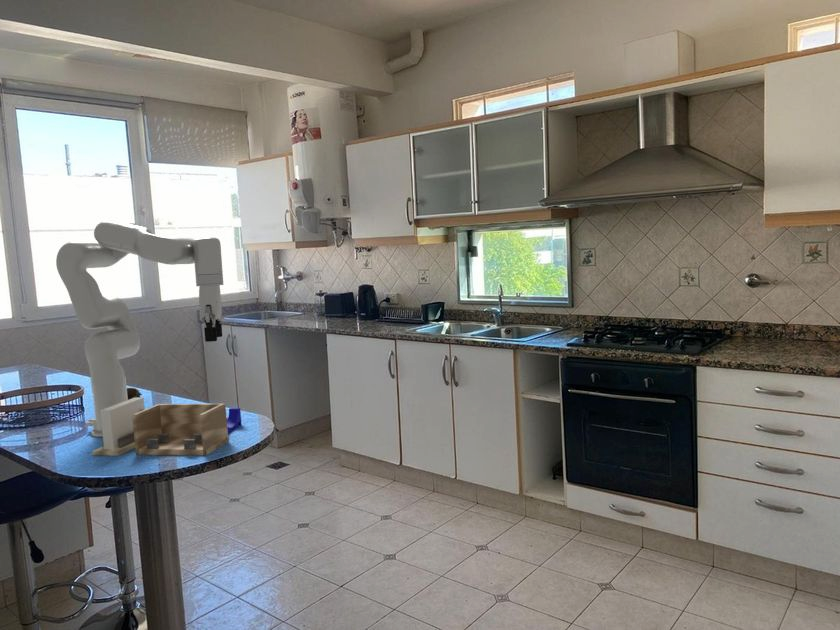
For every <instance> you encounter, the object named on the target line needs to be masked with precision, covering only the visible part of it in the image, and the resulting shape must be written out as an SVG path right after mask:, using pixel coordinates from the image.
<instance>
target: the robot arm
mask: <svg viewBox="0 0 840 630" xmlns="http://www.w3.org/2000/svg"><path fill="white" fill-rule="evenodd" d="M93 236H94V239H95V240H88V239H87V240H72V241H69V242H66V243H65V244H63V245H62V246H61V247H60V248H59V250H58V251H57V254H56V260H55V261H56V262H55V263H56V270H57V272H58V276H59V277H60V279H61V281H62V283H63V285H64V286H65V288H66V290H67V294H68V296H69V299H70V301H71V303H72V304H71V305H72V306H73V307H72V308H74V312H75V313H76V314H75V315H76V316H77V319H78V321H79V324H80V325H81V327H83V328H84V329H85V330H98V329H105V328H107V330H104V331H100V332H99V331H98V332H96V333H93V334H92V335H90V336H89V337H88V338H87V339H86V341H85V342H84V349H83V350H84V354H85V357H86V360H87V364H88V368H89V372H90V380H91V386H92V397H93V406H94V415H95V418H89V419H88V420H87V422H86V427H93V429H92V430H91V431H90V432H91V433H90V434H91V436H92V437H95V438H103V433H102V423H101V414H100V410H102V409H105V408H108V407H110V406H113V405H116V404H119V403H121V402H124V401H127V400H128V396H127V388H128V387H127V379H126V374H125V369H124V367H123V366H122V364H121V363H120V361H119V360H122V359H126V358H129V357H132V356H134V355H136V354H137V353H138V352H139V350H140V347H141V340H140V339H141V338H140V335H139V333H138V329H137V327H136V325H135V322H134V319H133V315H132V314H131V311H130V309H129V307H128V305H127V304H126V303H125V301H124V300H123V299H122V298H119V297H116V296H103V295H102V292H101V289H100V288H99V287H100V286H99V284H98V282H97V281H96V279H95V278H94V277H93V276H92V275H91V274H90V273H89V271H87V269H98V268H109V267H112V266H113V265H116V264H117V263H118V262H120V261H121V260H122V259H123V258H125V257H126V256H128V255H129V254H132V255H135V256H136V255H137V256H139V257H140V258H142V259H144V260H147V261H151V262H155V263H160V264H164V265H174V266H175V265H191V264H194V272H195V273H194V275H195V284H196V285H195V286H196V287H199V289H198V300H199V301H198V303H199V304H198V305H199V320H200V321H204V324H203V325H204V327H203V329H204V340H205V342H206V343H210V342H217V341H218V338H222V337H223V324H222V319H221V317H222V314H223V313H222V312H223V310H222V309H223V308H222V306H223V305H222V295H221V286H223V285H224V275H223V260H222V259H223V257H222V245H221V241H220V239H219V238H217V237H198V238H193V237H192V238H190V237H189V238H188V237H166V236H162V235H156V234H153V232H152V230H150V229H149V228H148V227H145V226H139V225H138V224H136V223H135V222H133V221H130V220H129V221H128V220H115V219H113V220H111V219H109V220H104V221H101V222H99V223H98V224H97V225H96V226H95V228H94V230H93Z"/></svg>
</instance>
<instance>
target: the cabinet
mask: <svg viewBox="0 0 840 630" xmlns="http://www.w3.org/2000/svg"><path fill="white" fill-rule="evenodd" d="M132 420H133V430H134V440H135V448H134V449H135V455H140V456H141V455H147V456H148V455H149V456H150V455H151V456H155V455H156V456H158V455H159V456H160V455H161V456H163V455H166V456H170V455H171V456H176V455H177V456H207V455H210V454H211V453H212V452H214V451H216V450H217V449H219V448H220V447H222V446H224V445H225V444H227V443H228V442H229V433H228V429H227V409H226V403H157V404H155V405H153V406H151V407H147V408H145V410H143V411H140V412H138V413H136V414H133V415H132Z"/></svg>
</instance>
